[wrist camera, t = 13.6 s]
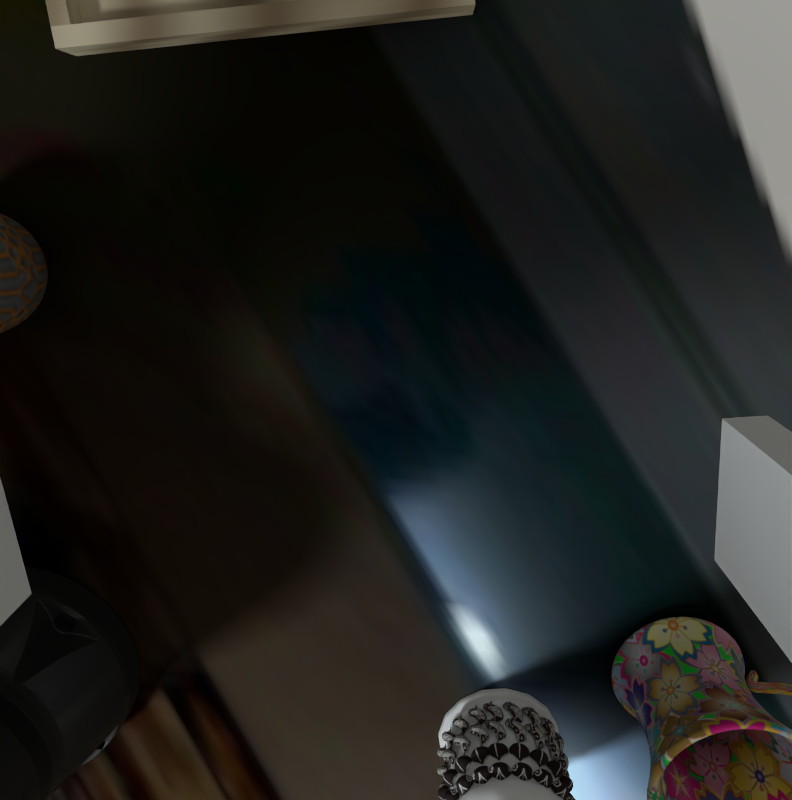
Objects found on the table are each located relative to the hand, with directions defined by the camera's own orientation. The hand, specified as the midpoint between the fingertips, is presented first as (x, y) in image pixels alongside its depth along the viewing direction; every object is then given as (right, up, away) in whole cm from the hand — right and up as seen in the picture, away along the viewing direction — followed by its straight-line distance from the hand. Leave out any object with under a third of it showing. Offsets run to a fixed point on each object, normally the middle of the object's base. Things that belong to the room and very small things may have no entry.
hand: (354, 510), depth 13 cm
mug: (+20, -15, +34) cm, 42 cm away
